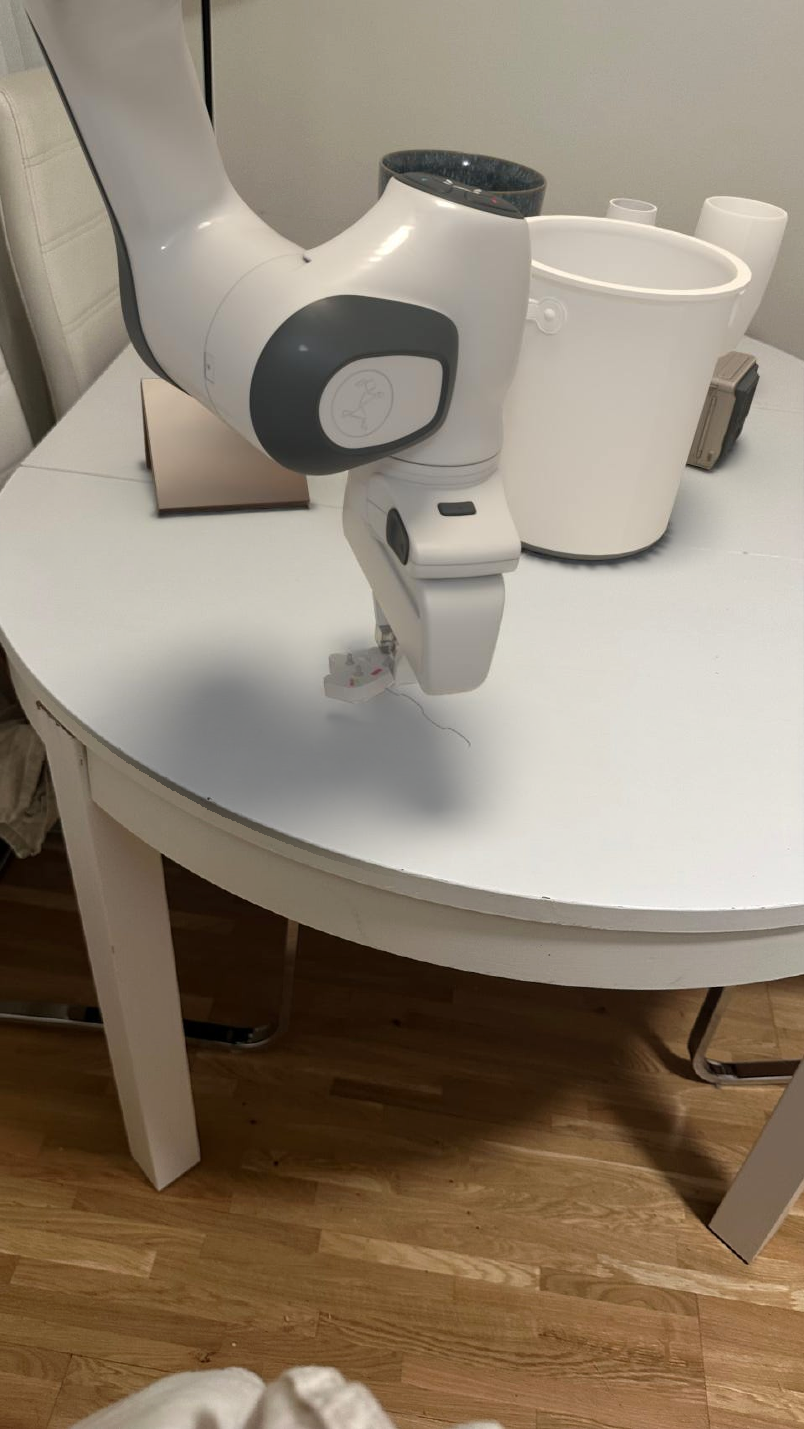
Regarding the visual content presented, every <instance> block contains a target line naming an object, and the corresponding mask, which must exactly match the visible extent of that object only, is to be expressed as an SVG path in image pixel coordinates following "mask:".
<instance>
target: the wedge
mask: <svg viewBox="0 0 804 1429" xmlns="http://www.w3.org/2000/svg"><path fill="white" fill-rule="evenodd" d="M140 402H141V414H142V428H143V444H144V459H145V466H146V469H147V470H148V469H151V473H152V481H153V488H154V494H155V495H154V496H155V502H156V509H157V510H156V511H157V514H158V515H167V514H183V513H184V514H185V513H187V514H188V513H203V512H220V511H237V510H239V511H240V510H256V509H270V508H271V509H272V508H290V507H291V508H292V507H307V506H309V504H310V502H311V498H310V497H311V496H310V493H309V491H310V490H309V485H308V478H307V475H305V474H300V473H297V472H294V471H291V470H289V469H287V468H285V467H283V466H282V465H280V464H279V463H277V462H276V461H274V460H272V459H270V458H269V457H268V456H267V455H265V454H264V453H263V452H261V451H260V450H259V449H258V448H256V447H255V446H254V445H252V444H251V443H250V442H249V441H247V440H246V439H245V438H244V437H242V436H241V435H240V434H239V433H237V432H235V431H234V430H232V429H231V428H230V427H229V426H227V425H226V424H225V423H224V422H223V421H221V420H220V419H219V418H218V417H217V416H215V415H214V414H213V413H212V412H210V411H209V410H208V409H207V408H206V407H204V406H203V405H202V404H201V403H200V402H198V401H197V400H196V399H195V398H193V397H191V396H189V395H187V394H186V393H184V392H183V391H181V390H179V389H178V388H176V387H175V386H173V385H171V384H170V383H168V382H167V381H165V380H163V379H162V378H160V377H158V378H155V377H154V378H153V377H151V378H140Z"/></svg>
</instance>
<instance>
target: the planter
mask: <svg viewBox="0 0 804 1429" xmlns="http://www.w3.org/2000/svg"><path fill="white" fill-rule="evenodd" d="M408 172H421V173H428V174H434V175H438V176H442V177H446V178H450V179H453V180H457V181H459V182H460V183H463V184H466V185H469V186H475V187H477V188H480V189H482V190H484V191H487V192H489V193H492V194H494V195H497V196H499V197H501V198H503V199H505V200H507V201H509V202H510V203H512V204H513V205H514V206H516V207H517V208H518V209H519V211H520V213H521V214H522V215H523V216H524V218H526V217H535V216H542V211H543V205H544V200H545V197H546V191H547V188H548V180H547V178H546V176H545V175H544V174H542V173H541V172H540V171H538V170H536V169H534V168H531V167H529V166H527V165H524V164H521V163H518V162H515V161H512V160H508V159H504V158H500V157H495V156H492V155H486V154H480V153H474V152H466V151H460V150H459V151H458V150H449V149H434V148H433V149H429V148H428V149H427V148H424V149H423V148H418V149H417V148H416V149H404V150H403V149H401V150H397V151H396V150H395V151H391V152H387V153H386V154H384V155H382V156H381V157H380V158H379V160H378V176H377V177H378V179H377V202H378V201H379V199H380V198H381V197H382V195H383V193H384V191H385V188H386V186H387V184H388V182H389V180H390V179H391V178H392V177H393V176H395V175H397V174H404V173H408Z"/></svg>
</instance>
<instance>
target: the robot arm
mask: <svg viewBox="0 0 804 1429" xmlns="http://www.w3.org/2000/svg"><path fill="white" fill-rule="evenodd" d="M182 2H183V1H182V0H20V3H21V4H22V6H23V9H24V11H25V14H26V17H27V20H28V21H29V24H30V27H31V30H32V32H33V34H34V36H35V39H36V42H37V44H38V47H39V49H40V52H41V54H42V56H43V58H44V61H45V63H46V66H47V68H48V72H49V74H50V76H51V78H52V82H53V83H54V85H55V88H56V91H57V93H58V95H59V97H60V100H61V102H62V105H63V107H64V110H65V113H66V114H67V117H68V119H69V122H70V124H71V126H72V129H73V131H74V134H75V136H76V138H77V141H78V143H79V146H80V148H81V150H82V153H83V155H84V158H85V160H86V162H87V165H88V168H89V169H90V172H91V175H92V177H93V179H94V182H95V184H96V186H97V189H98V191H99V194H100V196H101V199H102V201H103V204H104V206H105V210H106V212H107V215H108V218H109V221H110V225H111V228H112V233H113V238H114V243H115V250H116V258H117V259H116V260H117V271H118V286H119V287H118V288H119V297H120V298H119V300H120V306H121V313H122V318H123V322H124V326H125V330H126V333H127V335H128V337H129V340H130V343H131V345H132V347H133V348H134V350H135V351H136V353H137V355H138V357H139V358H140V360H142V362H143V363H144V364H145V365H146V366H147V367H148V369H150V371H152V372H153V373H154V375H156V376H158V378H162V379H163V380H165V381H167V382H168V383H170V384H171V385H173V386H175V387H176V388H178V389H179V390H181V391H183V392H184V393H186V394H187V395H189V396H191V397H193V398H195V399H196V400H197V401H198V402H200V403H201V404H202V405H203V406H204V407H206V408H207V409H208V410H209V411H210V412H212V413H213V414H214V415H215V416H217V417H218V418H219V419H220V420H221V421H223V422H224V423H225V424H226V425H227V426H229V427H230V428H231V429H232V430H234V431H235V432H237V433H239V434H240V435H241V436H242V437H244V438H245V439H246V440H247V441H249V442H250V443H251V444H252V445H254V446H255V447H256V448H258V449H259V450H260V451H261V452H263V453H264V454H265V455H267V456H268V457H269V458H270V459H272V460H274V461H276V462H277V463H279V464H280V465H282V466H283V467H285V468H287V469H289V470H291V471H294V472H297V473H300V474H305V475H306V476H313V477H314V476H317V477H321V476H331V475H334V474H335V475H336V474H339V473H342V472H347V475H346V483H345V488H344V495H343V503H342V511H341V512H342V513H341V518H342V520H341V521H342V530H343V535H344V537H345V539H346V541H347V543H348V545H349V547H350V549H351V552H352V554H353V556H354V557H355V559H356V561H357V563H358V565H359V567H360V569H361V571H362V573H363V575H364V577H365V579H366V581H367V583H368V585H369V587H370V589H371V596H372V602H373V611H374V618H375V627H374V635H373V639H374V641H375V643H376V644H377V645H376V646H377V647H379V649H380V650H381V652H382V653H390V652H391V656H390V665H389V669H390V671H391V674H392V676H393V679H394V683H395V684H396V685H398V686H403V685H413V684H416V683H418V685H419V687H420V689H421V690H422V692H423V693H424V694H425V695H427V696H432V697H433V696H434V697H435V696H446V695H455V694H462V693H469V692H473V691H475V690H477V689H478V688H480V687H481V686H482V685H483V684H484V683H485V681H486V680H487V678H488V675H489V673H490V670H491V666H492V662H493V659H494V654H495V651H496V647H497V642H498V640H499V639H498V638H499V635H500V629H501V625H502V621H503V616H504V609H505V600H506V586H505V580H504V576H503V574H506V573H512V572H515V571H516V570H517V568H518V566H519V563H520V558H521V552H522V547H521V541H520V537H519V534H518V531H517V529H516V526H515V524H514V521H513V518H512V516H511V513H510V510H509V507H508V503H507V499H506V495H505V490H504V481H503V474H502V471H501V469H499V463H500V458H501V452H502V446H503V442H504V426H503V416H502V413H503V405H504V400H505V397H506V394H507V391H508V389H509V387H510V385H511V384H512V382H513V380H514V377H515V375H516V372H517V368H518V363H519V358H520V352H521V347H522V342H523V336H524V330H525V324H526V317H527V311H528V303H529V294H530V283H531V266H532V251H531V238H530V232H529V227H528V223H527V221H526V219H524V216H523V215H522V214H521V213H520V211H519V209H518V208H517V207H516V206H514V205H513V204H512V203H510V202H509V201H507V200H505V199H503V198H501V197H499V196H497V195H494V194H492V193H489V192H487V191H484V190H482V189H480V188H477V187H475V186H469V185H466V184H463V183H460V182H459V181H457V180H453V179H450V178H446V177H442V176H438V175H434V174H428V173H421V172H408V173H404V174H397V175H395V176H393V177H392V178H391V179H390V180H389V182H388V184H387V186H386V188H385V191H384V193H383V195H382V197H381V198H380V199H379V201H378V200H377V202H376V203H375V204H374V205H373V206H372V207H371V208H370V209H369V210H367V212H366V213H365V214H364V215H363V216H362V217H361V218H360V219H358V220H357V221H356V222H355V223H353V224H352V225H351V226H349V227H348V228H346V229H345V230H343V231H342V232H341V233H340V234H337V236H334V237H332V238H331V239H329V240H328V241H325V242H324V243H322V244H320V245H318V246H315V247H313V248H310V249H308V250H307V249H305V248H303V247H302V246H300V245H298V244H296V243H295V242H293V241H292V240H289V239H287V238H285V236H282V235H280V234H279V233H278V232H277V231H276V230H274V229H273V228H272V227H270V226H269V225H268V224H267V223H266V222H265V221H264V220H263V219H261V217H259V216H258V214H256V213H255V212H254V211H253V209H252V208H250V207H249V206H248V204H247V203H246V202H245V201H244V200H243V199H242V196H240V195H239V193H238V192H237V191H236V189H235V187H234V186H233V184H232V182H231V181H230V178H229V176H228V173H227V171H226V169H225V165H224V162H223V159H222V156H221V151H220V148H219V146H218V143H217V138H216V135H215V132H214V127H213V125H212V121H211V118H210V115H209V112H208V108H207V105H206V101H205V98H204V95H203V92H202V87H201V85H200V81H199V77H198V73H197V71H196V68H195V64H194V60H193V58H192V54H191V51H190V47H189V44H188V40H187V37H186V31H185V26H184V19H183V8H182V7H183V6H182V5H183V4H182Z"/></svg>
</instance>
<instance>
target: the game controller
mask: <svg viewBox="0 0 804 1429" xmlns="http://www.w3.org/2000/svg"><path fill="white" fill-rule="evenodd" d="M390 656H391V652H390V653H382V652H381V650H380V649H379V647H378V646H373V647H369V648H368V649H367V650H366V659H364V658H361V657H358V656H353V655H352V654H351V653H348V654H343V653H338V652H337V653H330V654H329V655H328V659H327V660H328V670H329V674H327V675H325V676H324V677H323V687H324V690H323V691H324V696H325V697H327V698H329V699H333V700H337V701H340V702H343V703H350V704H355V703H361V702H364V701H366V700H369V699H372V698H374V697H375V696H378V695H379V694H381V693H382V692H384V691H385V690H386V691H388V692H389V693H391V694H393V695H395V696H404V697H406V698H408V699H409V700H411V701H412V702H414V703H415V705H417V706H418V707H419V708H420V709H421V713H422V715H423V716H424V717H425V718H426V719H427V720H428V721H429V722H430V723H432V724H433V725H435V726H436V727H437V728H439V729H442V730H446V729H448V730H451V731H453V732H454V733H456V734H458V735H459V736H460V737H461V738H462V739H464V740H465V741H466V743H467V744H468V745H469V746H468V748H467V749H469V748H470V747H471V743H470V741H469V740H468V738H466V737H465V736H464V735H462V734H461V733H460V732H458V731H457V730H455V729H454V728H451V727H442V726H440V725H438V724H437V723H435V722H434V721H433V720H431V719H430V718H429V717H428V716H427V715H426V713H424V708H423V707H422V705H420V703H418V702H417V701H416V700H414V699H413V698H411V697H410V696H408V695H407V694H404V693H400V694H398V693H396V692H394V691H392V690H390V689H389V687H390V686H392V685H393V684H394V683H395V681H394V679H393V676H392V674H391V671H390V669H389V665H390Z"/></svg>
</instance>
